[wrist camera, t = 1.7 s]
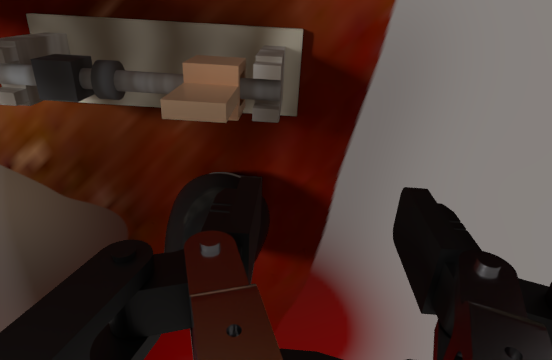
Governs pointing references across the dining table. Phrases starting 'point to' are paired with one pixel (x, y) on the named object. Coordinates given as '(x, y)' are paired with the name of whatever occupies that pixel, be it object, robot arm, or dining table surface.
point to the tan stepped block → (207, 90)
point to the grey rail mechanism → (144, 61)
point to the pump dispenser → (203, 209)
